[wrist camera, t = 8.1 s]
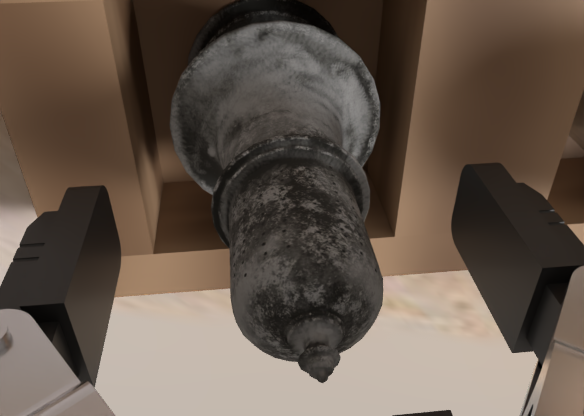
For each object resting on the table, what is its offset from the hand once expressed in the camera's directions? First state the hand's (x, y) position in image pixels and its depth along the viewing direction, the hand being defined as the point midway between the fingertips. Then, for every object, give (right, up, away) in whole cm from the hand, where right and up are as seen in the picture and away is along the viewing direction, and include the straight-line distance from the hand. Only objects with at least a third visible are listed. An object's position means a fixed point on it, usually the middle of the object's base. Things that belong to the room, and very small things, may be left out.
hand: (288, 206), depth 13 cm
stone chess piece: (-1, +4, +6) cm, 7 cm away
